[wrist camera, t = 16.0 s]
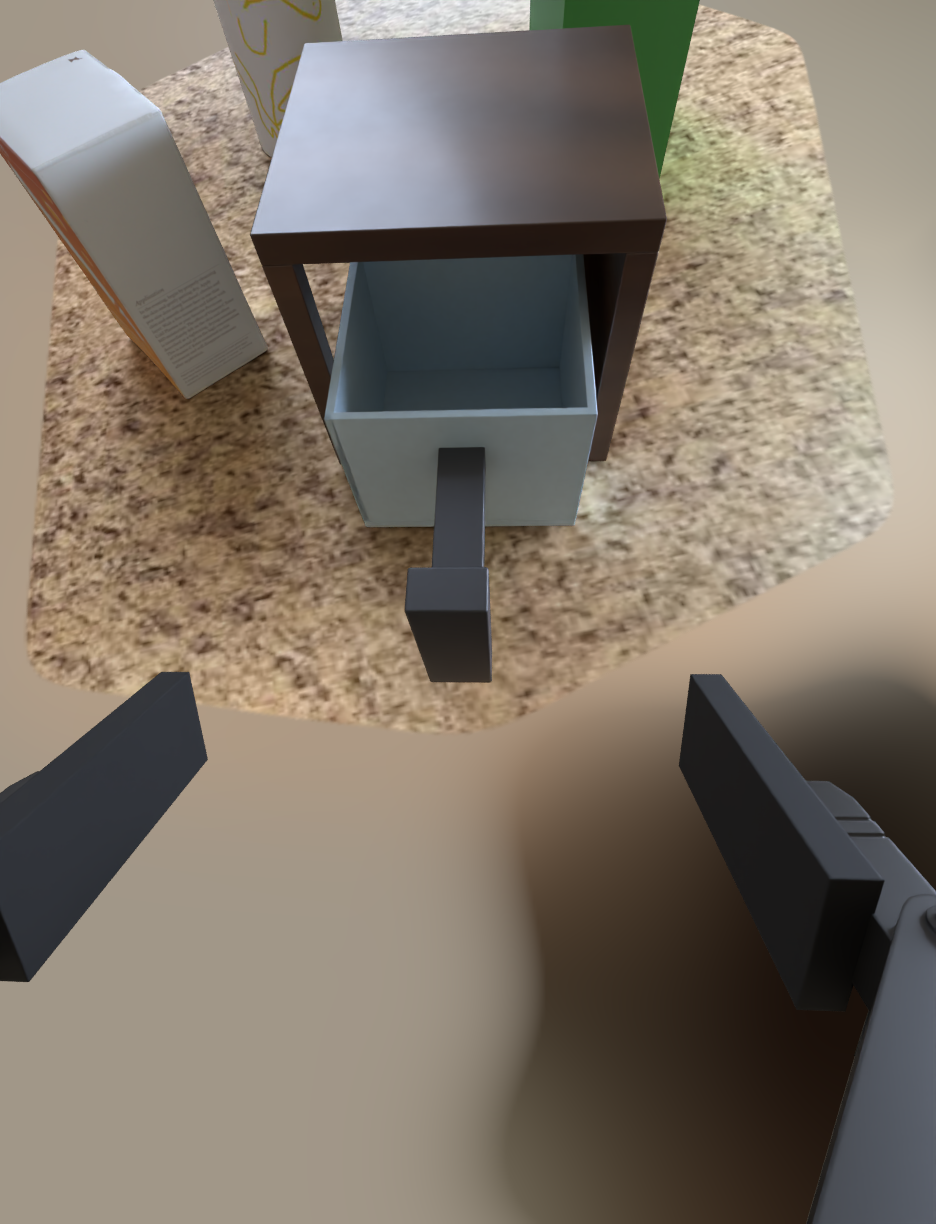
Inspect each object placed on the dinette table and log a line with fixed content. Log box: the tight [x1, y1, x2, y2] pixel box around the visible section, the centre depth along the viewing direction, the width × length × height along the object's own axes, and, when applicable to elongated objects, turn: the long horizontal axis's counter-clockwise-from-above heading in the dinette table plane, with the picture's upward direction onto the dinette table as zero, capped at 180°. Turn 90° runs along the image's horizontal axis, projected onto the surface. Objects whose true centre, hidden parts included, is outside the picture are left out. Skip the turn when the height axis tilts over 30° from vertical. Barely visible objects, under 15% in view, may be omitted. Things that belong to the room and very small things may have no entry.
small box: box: [0, 50, 268, 399], centre depth 32 cm, size 8×6×13 cm
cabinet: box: [250, 25, 667, 464], centre depth 29 cm, size 14×15×13 cm
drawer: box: [324, 254, 598, 683], centre depth 26 cm, size 20×11×10 cm, turn 179°
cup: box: [213, 0, 342, 157], centre depth 42 cm, size 8×8×12 cm
